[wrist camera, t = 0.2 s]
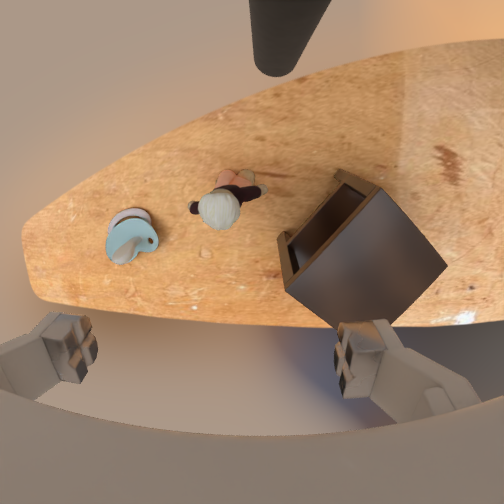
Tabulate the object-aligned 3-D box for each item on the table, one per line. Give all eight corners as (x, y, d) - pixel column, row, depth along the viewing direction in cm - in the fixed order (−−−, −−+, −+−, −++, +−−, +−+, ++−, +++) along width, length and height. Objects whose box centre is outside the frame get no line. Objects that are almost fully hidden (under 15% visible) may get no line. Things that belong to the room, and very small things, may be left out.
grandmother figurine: (255, 155, 34) (252, 166, 22) (269, 186, 35) (274, 214, 23) (193, 184, 35) (159, 211, 23) (208, 214, 36) (183, 254, 24)
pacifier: (101, 222, 37) (122, 263, 39) (76, 236, 31) (101, 283, 33) (146, 197, 36) (168, 241, 37) (125, 208, 30) (152, 260, 32)
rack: (339, 168, 34) (381, 187, 22) (395, 224, 36) (448, 266, 24) (276, 238, 37) (284, 290, 25) (335, 287, 39) (362, 350, 27)
